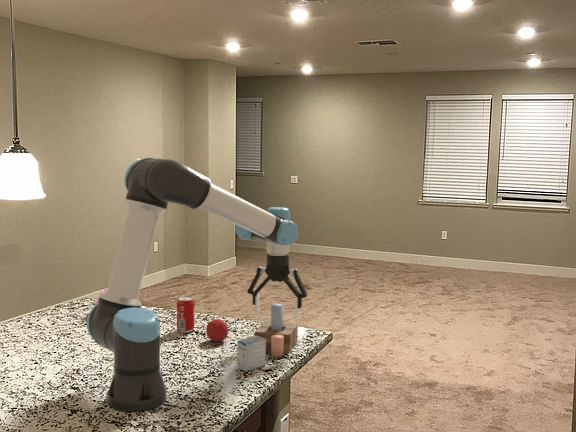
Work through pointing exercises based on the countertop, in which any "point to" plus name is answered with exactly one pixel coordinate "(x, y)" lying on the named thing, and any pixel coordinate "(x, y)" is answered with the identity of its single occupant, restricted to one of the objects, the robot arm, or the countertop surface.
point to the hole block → (288, 333)
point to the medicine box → (251, 353)
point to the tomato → (217, 330)
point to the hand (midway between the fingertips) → (276, 316)
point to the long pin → (277, 317)
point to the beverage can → (185, 314)
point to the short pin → (277, 345)
